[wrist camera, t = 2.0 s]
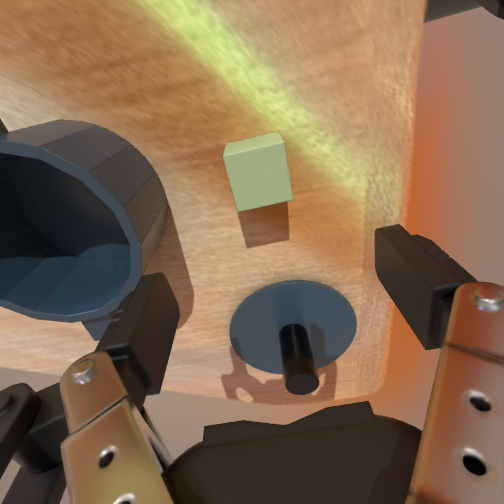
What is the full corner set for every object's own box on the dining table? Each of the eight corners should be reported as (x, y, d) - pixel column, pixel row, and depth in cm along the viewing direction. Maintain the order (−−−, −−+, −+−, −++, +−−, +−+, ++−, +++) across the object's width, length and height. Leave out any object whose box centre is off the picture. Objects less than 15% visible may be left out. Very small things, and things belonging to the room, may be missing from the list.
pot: (112, 56, 19) (47, 47, 13) (196, 273, 28) (183, 331, 22) (-55, 102, 21) (-191, 115, 14) (77, 297, 30) (31, 359, 23)
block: (278, 130, 22) (284, 141, 19) (286, 182, 24) (293, 200, 21) (225, 143, 22) (222, 155, 19) (238, 192, 24) (237, 212, 21)
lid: (350, 264, 28) (379, 316, 22) (355, 356, 35) (379, 415, 29) (214, 290, 30) (207, 346, 23) (245, 374, 36) (245, 435, 30)
